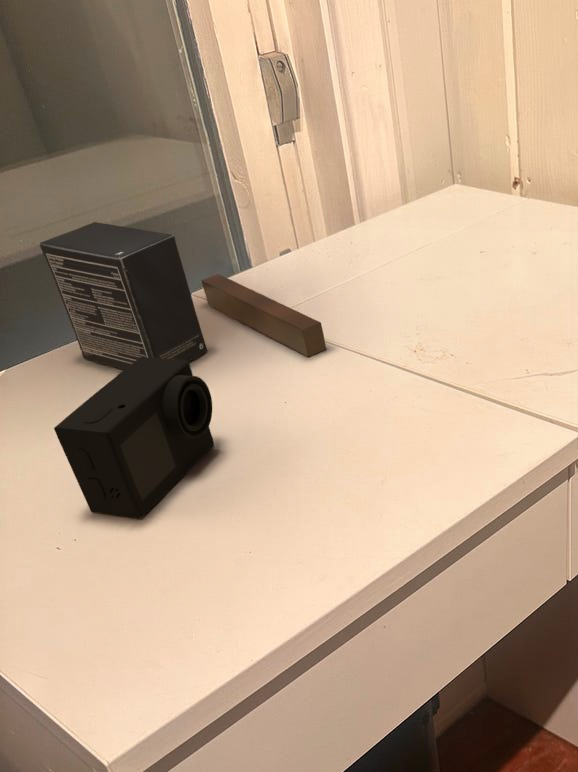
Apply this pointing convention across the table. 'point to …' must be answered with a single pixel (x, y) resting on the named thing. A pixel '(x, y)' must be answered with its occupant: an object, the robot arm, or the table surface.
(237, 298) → the brown wooden bar
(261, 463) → the table surface
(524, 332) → the table surface
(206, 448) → the digital camera
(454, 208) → the table surface
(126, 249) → the small box
